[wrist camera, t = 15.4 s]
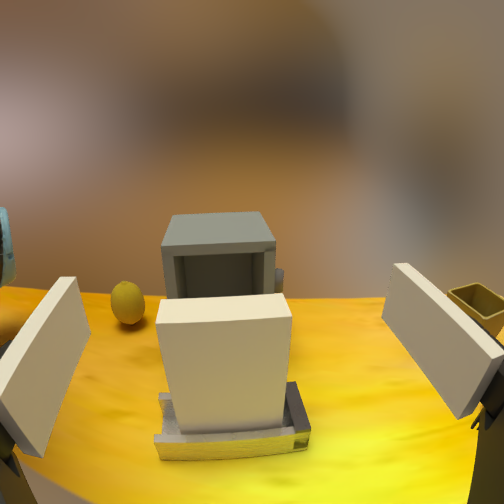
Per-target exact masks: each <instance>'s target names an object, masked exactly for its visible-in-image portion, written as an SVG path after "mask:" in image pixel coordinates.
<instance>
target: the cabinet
mask: <svg viewBox="0 0 504 504" xmlns="http://www.w3.org/2000/svg"><path fill="white" fill-rule="evenodd" d="M161 252H162V260H163V270H164V278H165V285H166V292H167V299H187V298H210V297H230V296H248V295H264V294H274V293H280V292H282V291H283V277H284V276H283V275H284V271H283V270H282V269H278V268H277V269H275V256H276V240H275V238H274V237H273V235H272V233H271V231H270V229H269V228H268V226H267V224H266V222H265V221H264V219H263V217H262V216H261V214H260V212H232V213H206V214H186V215H173V216H172V219H171V221H170V224H169V226H168V229H167V231H166V234H165V237H164V239H163V242H162V245H161Z"/></svg>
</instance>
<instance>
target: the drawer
mask: <svg viewBox="0 0 504 504" xmlns="http://www.w3.org/2000/svg"><path fill="white" fill-rule="evenodd" d="M158 400H159V403H160V406H161V410H162V413H163V426H162V435H158V434H155V435H154V444H155V447H156V449H157V451H158V454H159V456H160V459H161V460H215V459H233V458H245V457H256V456H265V455H274V454H281V453H288V452H295V451H301V450H306V449H307V445H308V441H309V436H310V432H311V426H310V423H309V420H308V417H307V414H306V411H305V408H304V405H303V402H302V399H301V396H300V393H299V390H298V387H297V384H296V381H294V382H286V392H285V402H284V411H283V420H282V428H277V429H268V430H259V431H248V432H236V433H220V434H195V435H181V433H180V429H179V426H178V422H177V418H176V414H175V410H174V406H173V402H172V398H171V394H170V393H159V399H158Z"/></svg>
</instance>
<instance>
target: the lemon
mask: <svg viewBox="0 0 504 504" xmlns="http://www.w3.org/2000/svg"><path fill="white" fill-rule="evenodd" d="M111 307H112V311H113V313H114V315H115V316H116V318H117V319H118V320H119V321H121V322H122V323H125V324H130V325H133V324H134V323H136V322H138V321H139V320H140V319H141V318H142V316H143V314H144V311H145V301H144V297H143V295H142V293H141V291H140V289H139V288H138V287H137V286H136V285H135V284H133V283H131V282H126V281H122V282H121V283H119V284H118V285H116V287H114V289H113V291H112V293H111Z"/></svg>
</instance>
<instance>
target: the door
mask: <svg viewBox="0 0 504 504" xmlns="http://www.w3.org/2000/svg"><path fill="white" fill-rule="evenodd" d="M155 324H156V329H157V334H158V340H159V345H160V350H161V354H162V359H163V364H164V368H165V373H166V377H167V382H168V386H169V390H170V394H171V398H172V402H173V406H174V410H175V414H176V418H177V422H178V426H179V429H180V433H181V435H195V434H220V433H236V432H248V431H259V430H268V429H277V428H282V420H283V411H284V402H285V392H286V382H287V372H288V361H289V350H290V338H291V326H292V314H291V312H290V310H289V307H288V305H287V303H286V300H285V298H284V296H283V294H282V293H279V294H264V295H248V296H230V297H210V298H187V299H161V302H160V306H159V310H158V315H157V319H156V323H155Z"/></svg>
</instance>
